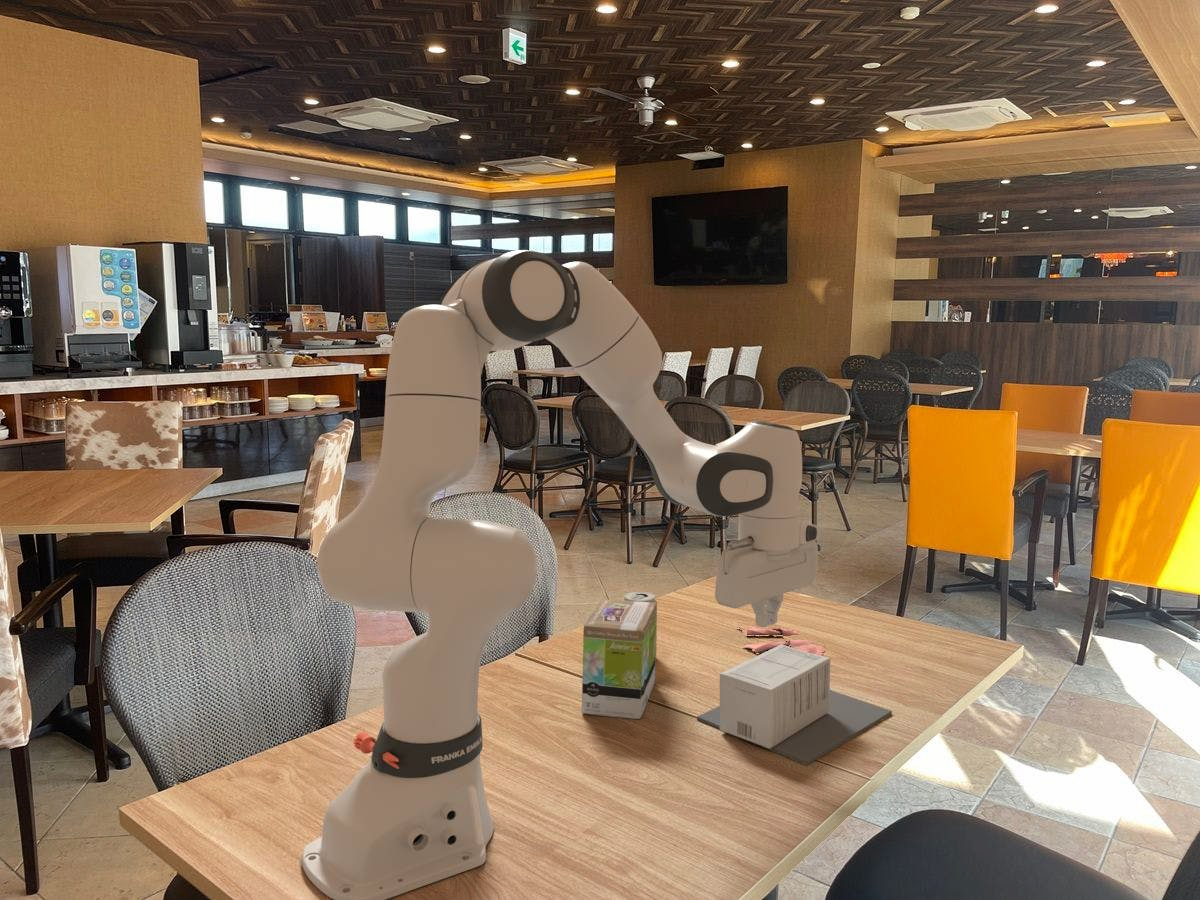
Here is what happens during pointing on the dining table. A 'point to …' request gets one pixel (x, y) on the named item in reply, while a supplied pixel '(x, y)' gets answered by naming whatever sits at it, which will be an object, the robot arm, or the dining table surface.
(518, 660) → the dining table surface
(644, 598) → the beverage can
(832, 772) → the dining table surface
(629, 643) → the tea box
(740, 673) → the supplement box
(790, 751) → the mat
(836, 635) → the dining table surface
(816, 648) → the cloth
